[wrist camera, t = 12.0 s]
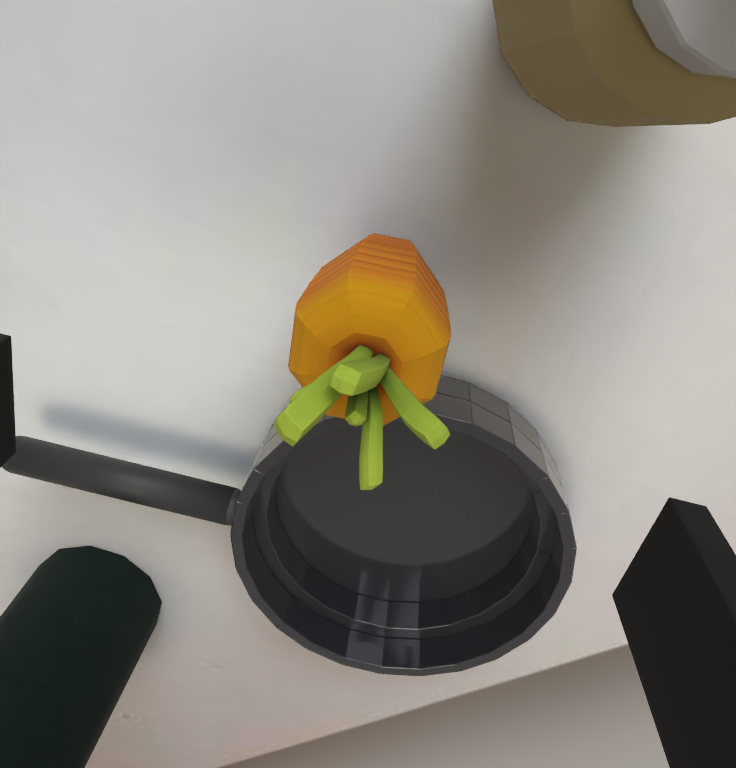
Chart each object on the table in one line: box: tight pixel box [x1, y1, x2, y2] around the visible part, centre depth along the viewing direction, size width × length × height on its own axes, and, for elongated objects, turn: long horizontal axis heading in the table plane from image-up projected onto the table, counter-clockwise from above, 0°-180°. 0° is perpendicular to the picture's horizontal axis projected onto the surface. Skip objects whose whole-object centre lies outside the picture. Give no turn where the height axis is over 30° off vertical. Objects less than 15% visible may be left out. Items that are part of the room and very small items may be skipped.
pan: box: [230, 375, 577, 676], centre depth 32 cm, size 16×16×4 cm
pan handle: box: [1, 436, 240, 526], centre depth 31 cm, size 2×12×2 cm, turn 77°
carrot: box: [274, 233, 451, 490], centre depth 21 cm, size 5×5×15 cm
